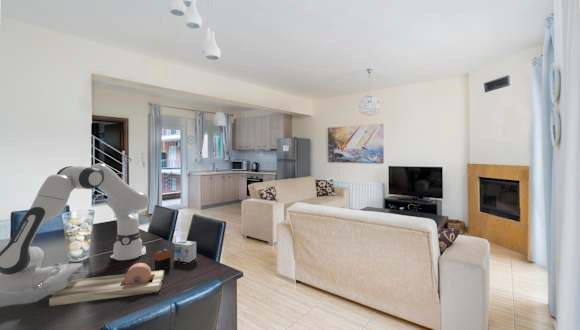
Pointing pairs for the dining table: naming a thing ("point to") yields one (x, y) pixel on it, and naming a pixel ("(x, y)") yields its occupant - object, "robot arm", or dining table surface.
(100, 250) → the dining table surface
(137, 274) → the roller
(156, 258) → the battery
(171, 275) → the dining table surface
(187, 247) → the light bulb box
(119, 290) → the board
